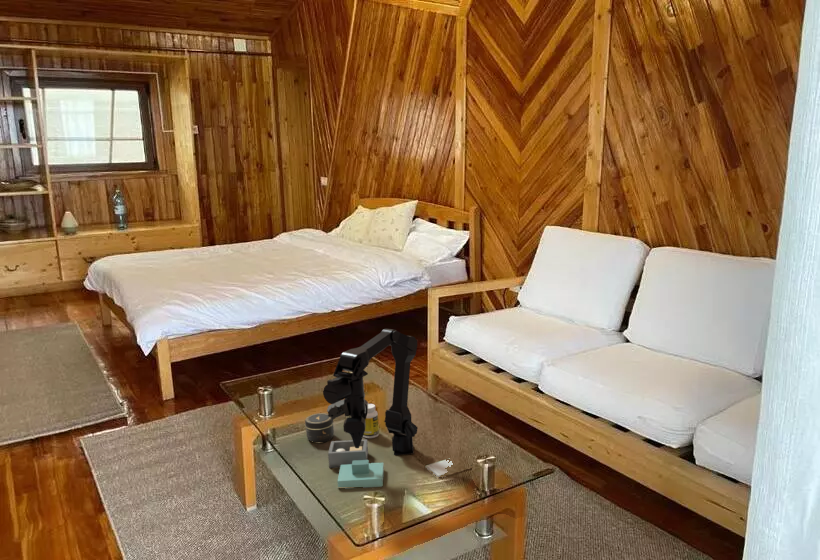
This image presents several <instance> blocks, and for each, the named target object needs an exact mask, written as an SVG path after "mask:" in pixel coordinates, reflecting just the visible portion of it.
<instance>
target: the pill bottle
mask: <svg viewBox="0 0 820 560" xmlns="http://www.w3.org/2000/svg"><path fill="white" fill-rule="evenodd" d="M365 423H366V427H365V432H364V435H363V438H364V439H374V438H377V437H378V436H379V435H380V427H379V414H378V411H377V410H376V405H375V404H374V403H368V412H367V416H366V420H365Z"/></svg>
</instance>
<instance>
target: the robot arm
mask: <svg viewBox="0 0 820 560" xmlns="http://www.w3.org/2000/svg"><path fill="white" fill-rule="evenodd" d="M389 346H391V348H390V349H391V355H392V357H393V359H394V361H395V363H394V364H395V365H394V375H393V376H394V379H393V390H392V403H391V406H390V407H389V408H388V409H386V410H385V413H384V421H383V422H384V423H385V427H386V428H387V432H388V433H389V434H393V436H391V446H392V447H391V448H392V451H393V455H394V456H399V455H400V456H402V455H403V456H404V455H414V453H415V451H414V450H415V449H414V442H413V441H414V440H413V438H415V436H416V435H417V433H418V426H417V425H415V424H414V423H413V422H412V413H411V411H410V408H409V407H408V403H409V401H408V398H409V386H410V373H411V363H412V361H413V359H414V358H415V357H416V356H417V355H416V354H417V349H418V339H416V337H414V336H412V335H407V334H404V333H402V332H400V331H398V330H397V329H391V328H384V329H382V330H381V332H380V333H378V334H376V335H375V336H373V337H372V338H371V339H369V340H368V341H366V342H365V343H364V344H362V345H360V346H359V347H353V348H350V349H348V350H346V351H343V352H342V353H341V354H340V356H339V359H338V361H337V364H336V367H335V369H334V372H333V374H332V376H333V377H334V378H333V379H332V378H331V379H328V380H327V381H326V383H327V385H325V386H324V387H323V390H322V395H323V398H324V399H325V401H326V402H327V403H328V404H329V405H328V406H327V409H326V412H327V414H328V416H329V417H330V418H331V420H333V421H334V420H335V419H337V418H338V417H341V416H343V415H344V417H347V418H346V419H345V420H344V421H343V432H345V433H346V434H349V435H350V437H351V440H353V443H354V446H355V448H359V446H360V443H361V440H363V438H364V437H363V435H364V432H365V427H366V423H365V420H366V416H367V412H368V404H369V401H367V400H366V398H365V397H366V393H365V387H364V377H365V376H367V375H368V371H365V369H366V368H367V367H368V366H369V364H370V361H371V359H372V358H374V357H375V356H376V355H377V354H379V353H380V352H382V351H384V350H385V349H386V348H387V347H389ZM345 371H346V372H345Z"/></svg>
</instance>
